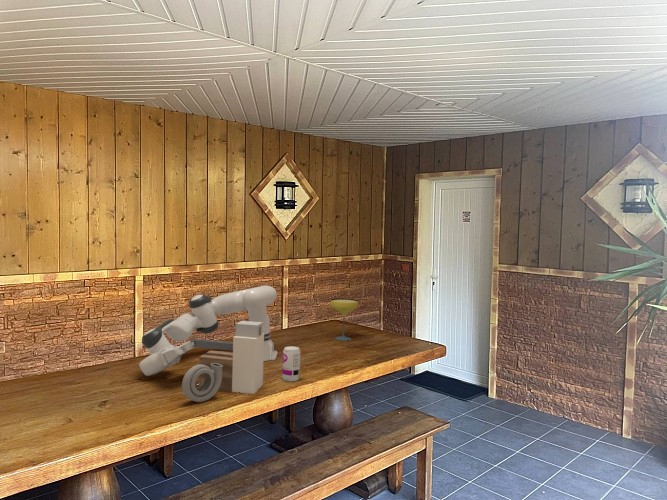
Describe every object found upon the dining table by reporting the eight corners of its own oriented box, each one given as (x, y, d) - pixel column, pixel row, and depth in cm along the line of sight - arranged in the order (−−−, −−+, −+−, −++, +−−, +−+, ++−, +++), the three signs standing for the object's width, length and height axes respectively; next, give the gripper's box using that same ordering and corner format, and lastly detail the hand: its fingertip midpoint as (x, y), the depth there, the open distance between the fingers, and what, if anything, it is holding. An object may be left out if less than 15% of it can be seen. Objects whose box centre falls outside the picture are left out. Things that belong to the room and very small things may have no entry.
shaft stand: (241, 383, 232) (243, 319, 230) (262, 385, 230) (264, 321, 228) (231, 391, 220) (233, 324, 218) (254, 394, 218) (255, 326, 216)
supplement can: (283, 382, 235) (284, 350, 234) (280, 377, 243) (281, 346, 242) (300, 381, 237) (302, 350, 236) (297, 376, 245) (298, 345, 244)
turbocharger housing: (187, 407, 200) (188, 370, 199) (179, 403, 204) (179, 366, 203) (223, 397, 212) (224, 362, 211) (214, 393, 217) (215, 359, 216)
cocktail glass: (325, 336, 332) (327, 298, 331) (351, 335, 338) (353, 298, 336) (334, 342, 315) (335, 302, 314) (361, 341, 321) (362, 302, 319)
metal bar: (193, 345, 230) (193, 338, 230) (234, 348, 226) (235, 342, 226) (190, 346, 227) (190, 340, 227) (232, 350, 223) (232, 343, 223)
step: (209, 380, 234) (210, 350, 233) (241, 383, 232) (242, 353, 231) (198, 388, 222) (199, 357, 222) (231, 391, 220) (232, 360, 219)
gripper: (185, 355, 240) (209, 342, 238) (163, 367, 220) (189, 353, 218) (179, 343, 241) (202, 330, 238) (156, 354, 221) (182, 340, 218)
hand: (196, 342), depth 228 cm, fingers closed on metal bar, 3 cm apart
